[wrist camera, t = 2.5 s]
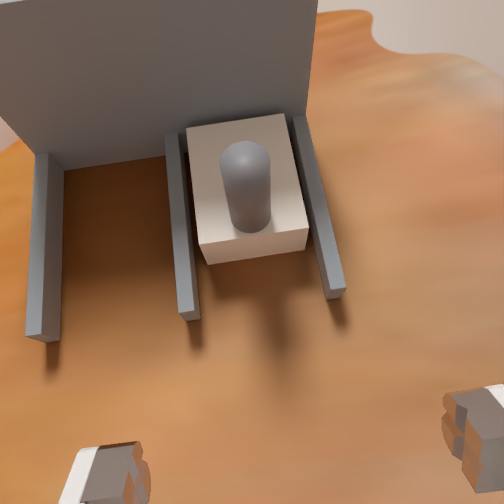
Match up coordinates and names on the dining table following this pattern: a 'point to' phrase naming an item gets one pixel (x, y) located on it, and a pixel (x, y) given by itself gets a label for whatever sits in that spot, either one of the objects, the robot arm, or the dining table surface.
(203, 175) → the pull block
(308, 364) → the dining table surface
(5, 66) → the lane rack
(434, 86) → the dining table surface
